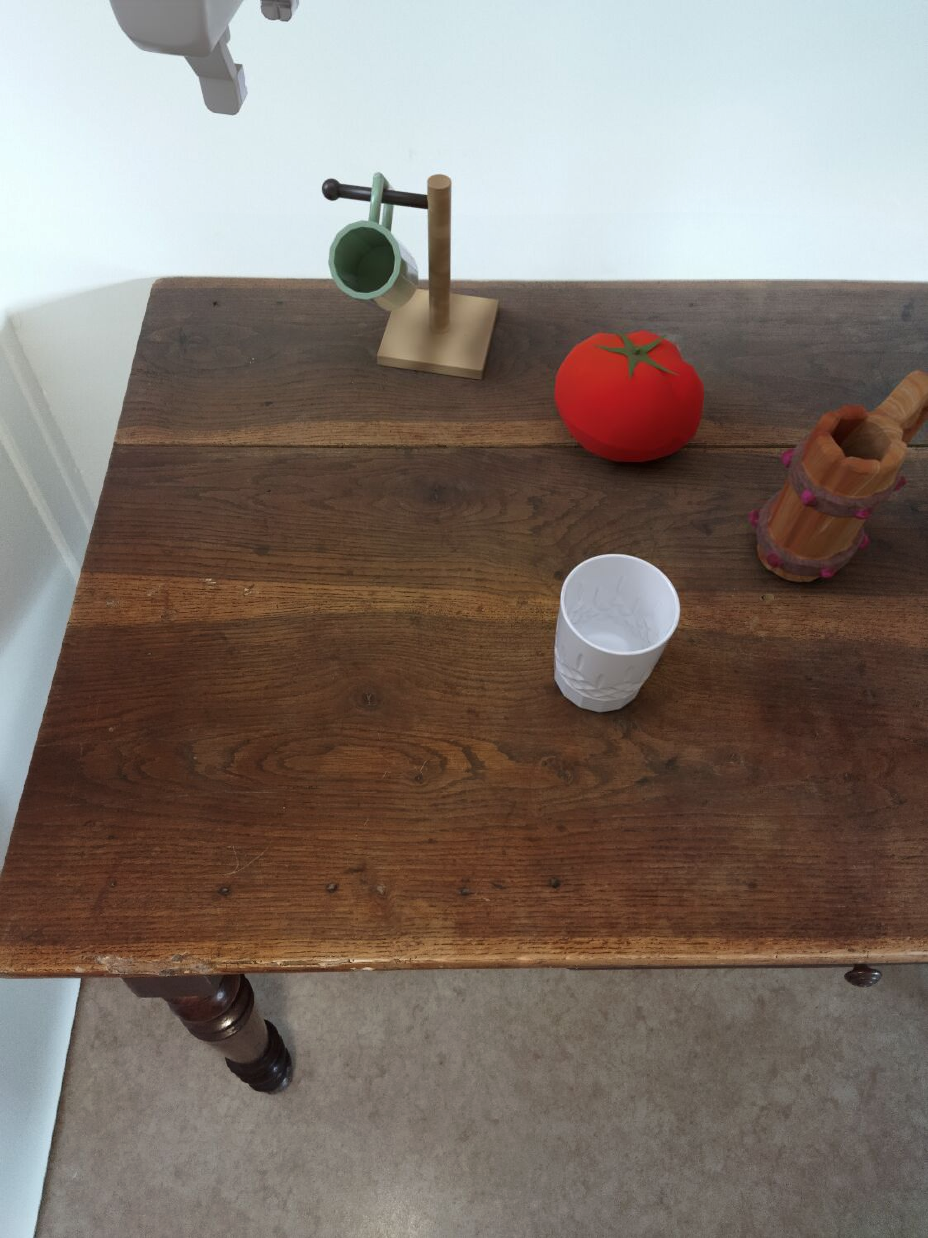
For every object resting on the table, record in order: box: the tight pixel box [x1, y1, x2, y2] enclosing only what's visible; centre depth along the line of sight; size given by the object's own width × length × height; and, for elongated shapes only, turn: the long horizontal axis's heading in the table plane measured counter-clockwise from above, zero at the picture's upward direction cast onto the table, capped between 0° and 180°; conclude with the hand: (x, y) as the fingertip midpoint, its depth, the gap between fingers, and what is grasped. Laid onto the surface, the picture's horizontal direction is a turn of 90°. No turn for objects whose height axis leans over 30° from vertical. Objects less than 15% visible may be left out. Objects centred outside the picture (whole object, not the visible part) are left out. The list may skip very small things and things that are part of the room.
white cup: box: [553, 553, 681, 713], centre depth 63 cm, size 8×8×10 cm
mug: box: [748, 369, 928, 583], centre depth 67 cm, size 15×8×15 cm, turn 131°
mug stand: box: [321, 173, 500, 380], centre depth 79 cm, size 15×10×16 cm, turn 80°
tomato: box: [554, 327, 705, 463], centre depth 75 cm, size 11×13×10 cm
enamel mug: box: [327, 171, 419, 312], centre depth 76 cm, size 10×6×9 cm
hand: (256, 58), depth 47 cm, fingers open, 8 cm apart
